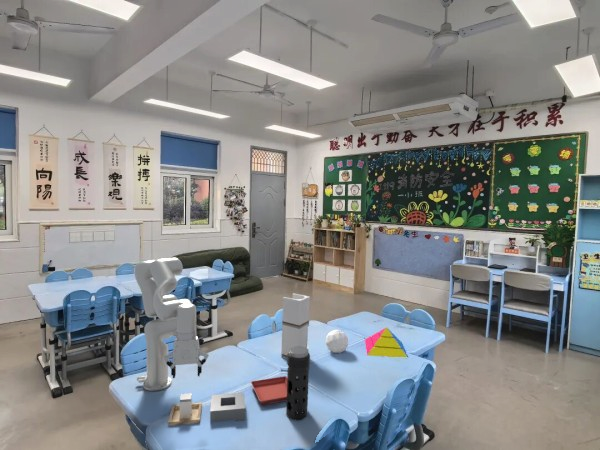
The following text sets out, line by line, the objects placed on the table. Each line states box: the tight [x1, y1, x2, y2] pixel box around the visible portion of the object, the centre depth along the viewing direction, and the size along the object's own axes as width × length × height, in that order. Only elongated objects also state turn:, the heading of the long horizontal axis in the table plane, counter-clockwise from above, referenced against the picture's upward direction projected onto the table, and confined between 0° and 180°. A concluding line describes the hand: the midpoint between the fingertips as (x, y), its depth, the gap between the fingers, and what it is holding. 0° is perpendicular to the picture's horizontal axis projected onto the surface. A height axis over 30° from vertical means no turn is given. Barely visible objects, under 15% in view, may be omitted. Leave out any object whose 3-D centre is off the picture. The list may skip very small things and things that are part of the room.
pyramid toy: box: [364, 327, 408, 358], centre depth 222 cm, size 25×25×14 cm
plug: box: [179, 392, 193, 419], centre depth 148 cm, size 4×4×8 cm
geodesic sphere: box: [325, 329, 349, 354], centre depth 215 cm, size 14×14×14 cm
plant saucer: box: [250, 375, 292, 406], centre depth 168 cm, size 18×18×3 cm
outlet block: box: [209, 392, 246, 423], centre depth 151 cm, size 14×12×5 cm
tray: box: [167, 401, 203, 427], centre depth 148 cm, size 12×12×2 cm
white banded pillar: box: [280, 292, 311, 360], centre depth 206 cm, size 11×11×35 cm
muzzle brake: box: [285, 346, 311, 421], centre depth 152 cm, size 10×28×10 cm
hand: (186, 375), depth 147 cm, fingers open, 9 cm apart
